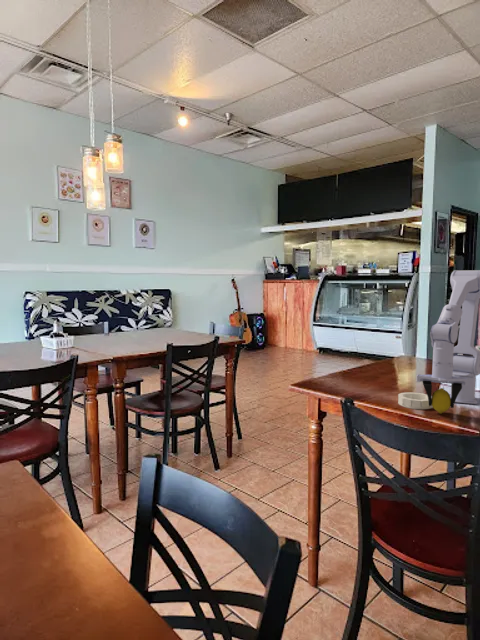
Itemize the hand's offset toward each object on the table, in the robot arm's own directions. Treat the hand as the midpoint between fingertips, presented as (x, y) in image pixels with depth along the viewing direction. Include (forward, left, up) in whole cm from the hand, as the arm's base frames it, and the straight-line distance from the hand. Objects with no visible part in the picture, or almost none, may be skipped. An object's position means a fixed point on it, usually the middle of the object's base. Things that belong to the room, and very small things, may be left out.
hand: (440, 406), depth 137 cm
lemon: (0, 0, -3) cm, 3 cm away
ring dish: (-8, -7, -2) cm, 11 cm away
